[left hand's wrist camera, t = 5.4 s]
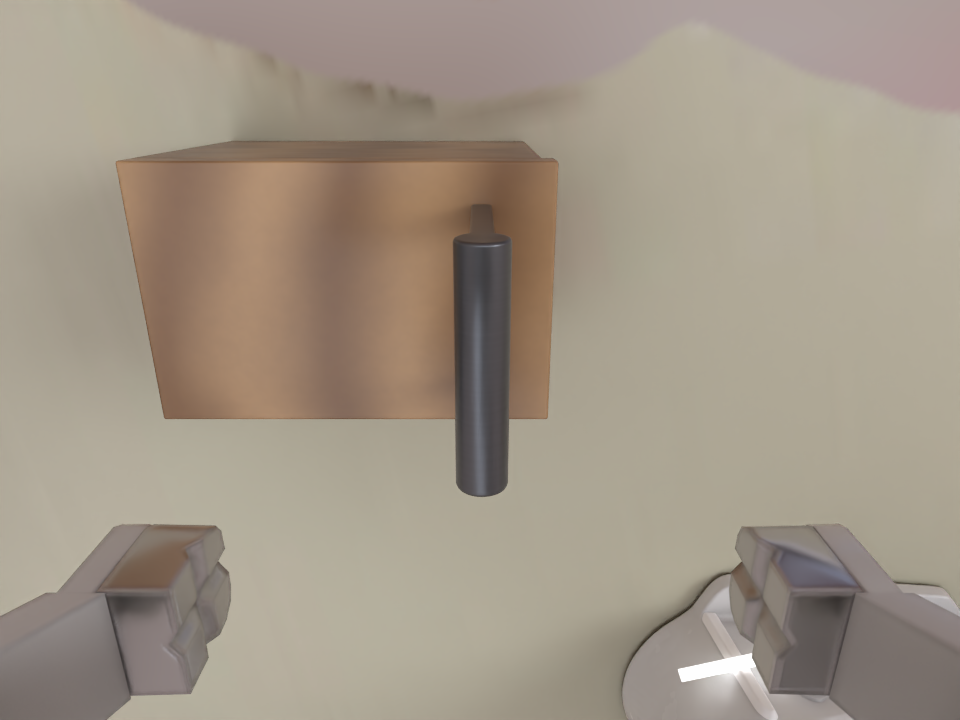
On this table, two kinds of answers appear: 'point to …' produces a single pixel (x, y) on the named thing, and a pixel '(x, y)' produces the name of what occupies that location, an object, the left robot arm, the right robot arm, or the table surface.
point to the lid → (350, 291)
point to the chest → (356, 149)
